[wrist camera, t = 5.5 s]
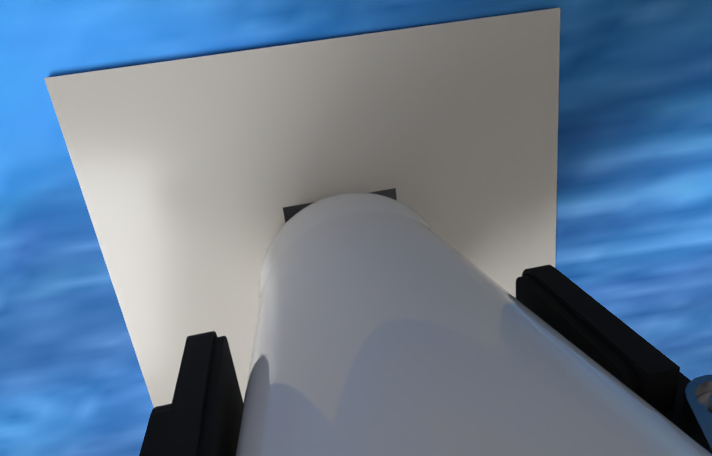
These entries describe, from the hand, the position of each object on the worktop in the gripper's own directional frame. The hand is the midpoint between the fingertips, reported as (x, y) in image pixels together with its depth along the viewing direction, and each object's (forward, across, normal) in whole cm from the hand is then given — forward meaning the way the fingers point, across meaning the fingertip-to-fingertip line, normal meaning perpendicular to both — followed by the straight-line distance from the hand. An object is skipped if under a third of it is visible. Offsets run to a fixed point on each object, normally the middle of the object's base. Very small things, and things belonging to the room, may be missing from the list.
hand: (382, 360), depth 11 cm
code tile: (+5, 0, 0) cm, 5 cm away
